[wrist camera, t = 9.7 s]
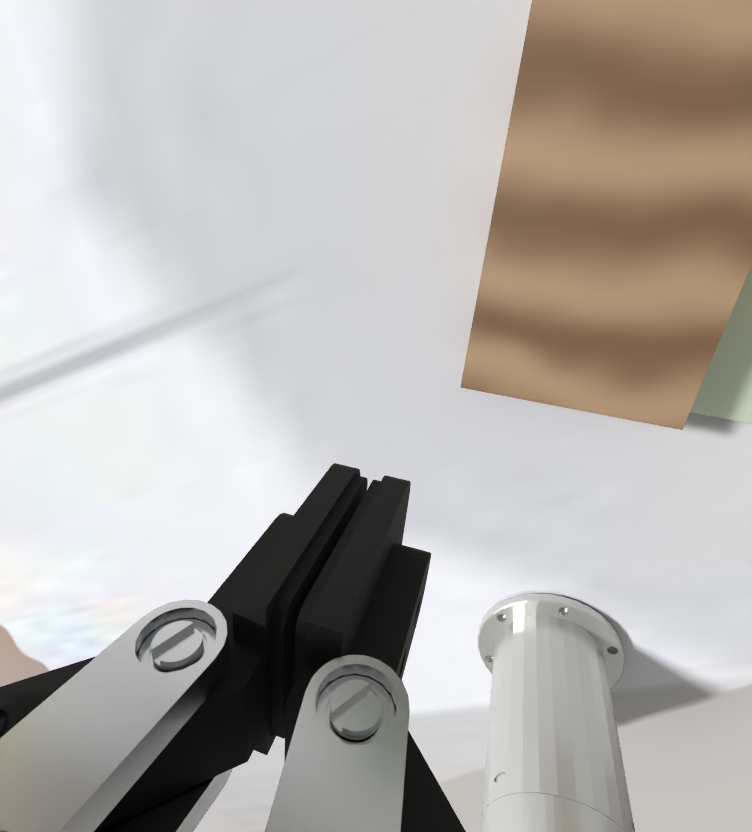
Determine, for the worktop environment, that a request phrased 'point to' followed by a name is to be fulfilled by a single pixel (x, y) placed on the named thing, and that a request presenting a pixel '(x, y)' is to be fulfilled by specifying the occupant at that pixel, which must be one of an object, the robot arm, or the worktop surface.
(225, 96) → the worktop surface
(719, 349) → the sage mat
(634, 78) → the board
